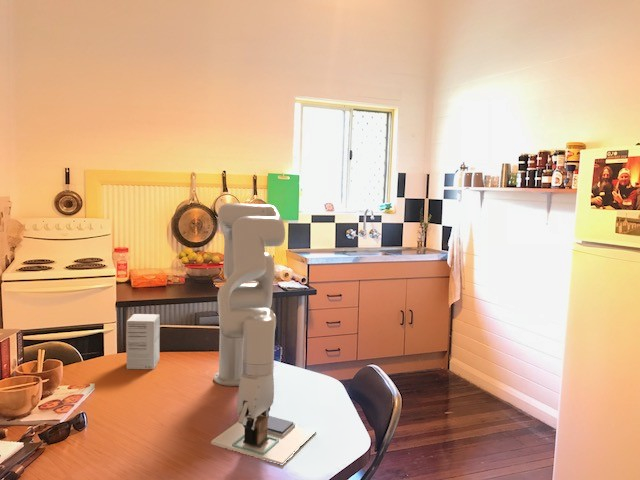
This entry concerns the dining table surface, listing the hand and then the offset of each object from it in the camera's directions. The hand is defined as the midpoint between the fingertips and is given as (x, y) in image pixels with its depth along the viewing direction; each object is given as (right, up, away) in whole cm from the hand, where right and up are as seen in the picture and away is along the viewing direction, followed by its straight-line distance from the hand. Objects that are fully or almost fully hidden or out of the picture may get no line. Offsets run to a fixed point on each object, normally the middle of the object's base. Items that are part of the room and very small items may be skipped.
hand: (255, 438), depth 123 cm
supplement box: (-46, +5, +51) cm, 69 cm away
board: (+2, -2, +4) cm, 5 cm away
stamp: (0, -1, 0) cm, 1 cm away
